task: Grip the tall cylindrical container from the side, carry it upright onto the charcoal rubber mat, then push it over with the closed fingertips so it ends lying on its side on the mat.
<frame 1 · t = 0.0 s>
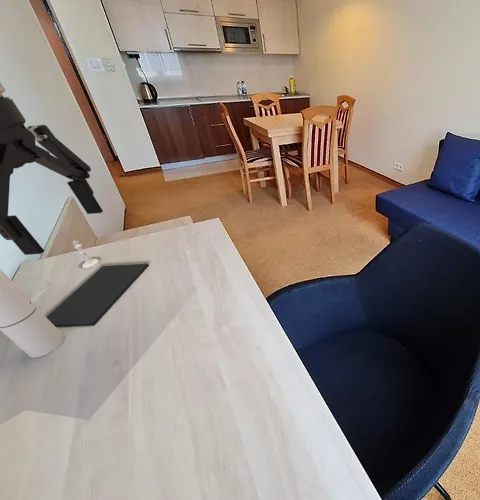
hand: (68, 230, 54), 33 cm above the table, tool pointing down, fingers open, 13 cm apart
mat: (99, 293, 91), on the table
chess piece: (91, 265, 105), on the table
cylindrical container: (47, 345, 76), on the table
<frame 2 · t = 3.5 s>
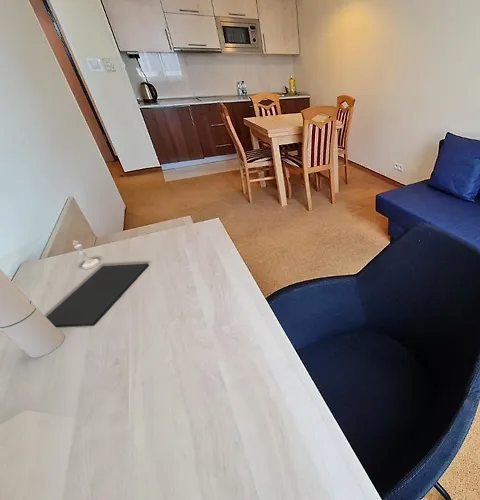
nothing on the table moved.
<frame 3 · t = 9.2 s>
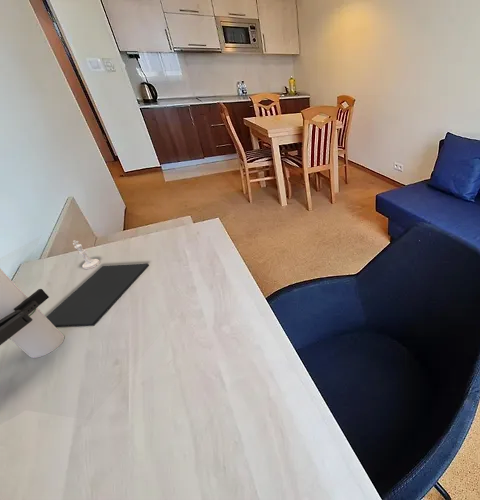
hand: (28, 293, 72), 13 cm above the table, tool horizontal, fingers closed on cylindrical container, 7 cm apart
cylindrical container: (47, 345, 76), on the table, touching gripper
everything else where it was.
when the fingers open (14 cm above the table, at t = 14.4 s): cylindrical container stays where it is, resting on mat.
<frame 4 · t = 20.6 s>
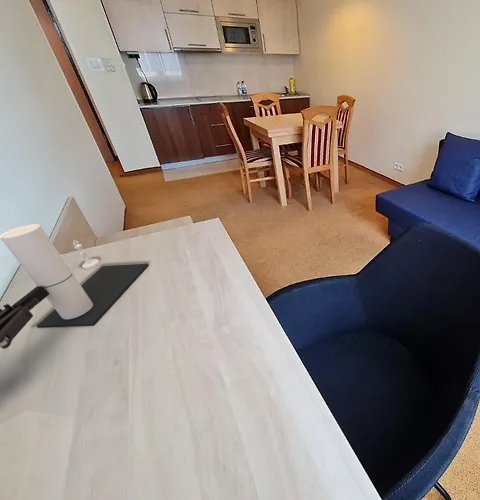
hand: (43, 290, 76), 12 cm above the table, tool horizontal, fingers closed
cylindrical container: (78, 310, 84), point 1 cm above the table, touching mat
everything else where it was.
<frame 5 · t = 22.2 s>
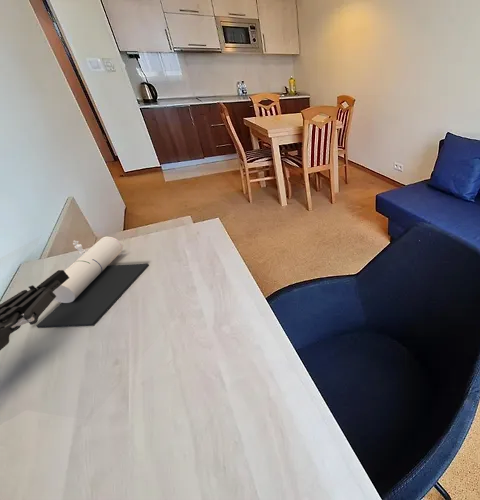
hand: (63, 274, 81), 11 cm above the table, tool horizontal, fingers closed
cylindrical container: (59, 294, 85), point 4 cm above the table, touching mat
everything else where it was.
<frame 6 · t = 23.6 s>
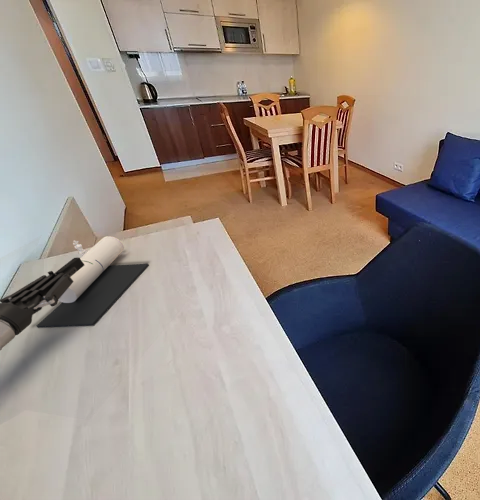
hand: (79, 261, 85), 11 cm above the table, tool horizontal, fingers closed
nothing on the table moved.
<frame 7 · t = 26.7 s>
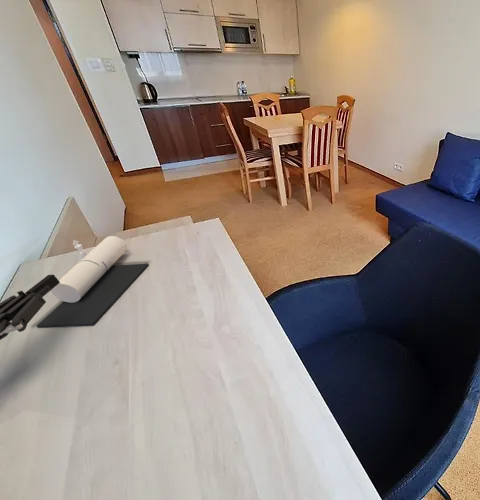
hand: (54, 278, 79), 12 cm above the table, tool horizontal, fingers closed
cylindrical container: (65, 293, 85), point 4 cm above the table, touching mat
everything else where it was.
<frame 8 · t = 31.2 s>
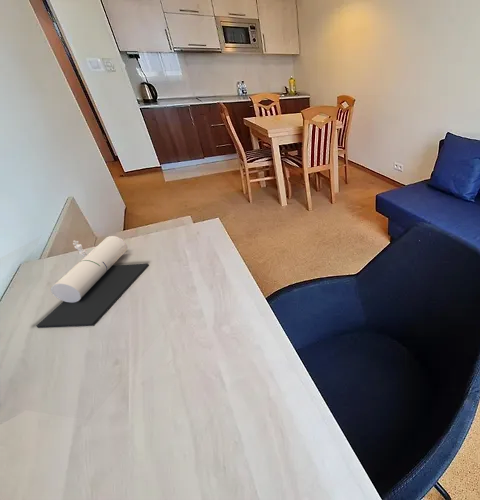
nothing on the table moved.
at the end: cylindrical container tilted 90°; cylindrical container inside the target area (4.3 cm from its centre), point 4.4 cm above the table; the gripper is holding nothing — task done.
